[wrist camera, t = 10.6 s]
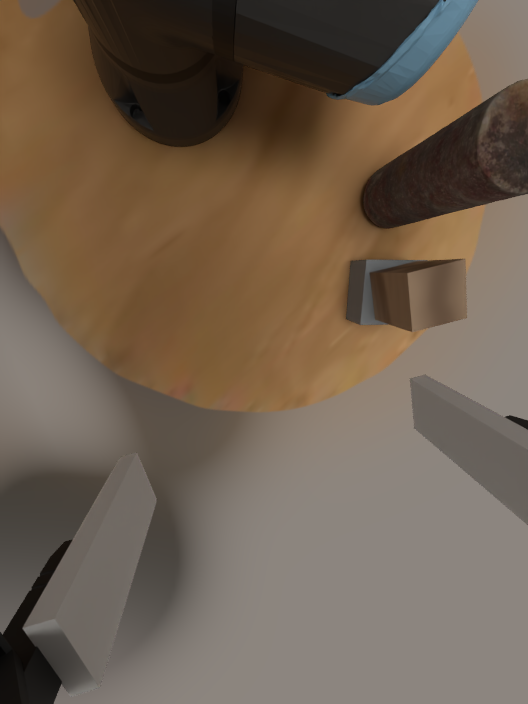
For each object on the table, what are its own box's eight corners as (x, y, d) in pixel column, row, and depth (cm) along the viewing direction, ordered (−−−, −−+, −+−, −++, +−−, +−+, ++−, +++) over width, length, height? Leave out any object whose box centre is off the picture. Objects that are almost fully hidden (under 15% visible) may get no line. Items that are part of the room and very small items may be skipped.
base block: (350, 260, 40) (366, 259, 36) (404, 261, 41) (427, 260, 37) (345, 318, 43) (360, 324, 38) (397, 317, 44) (418, 323, 39)
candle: (359, 234, 39) (484, 200, 20) (355, 173, 37) (489, 71, 18) (413, 224, 40) (584, 183, 21) (412, 163, 38) (600, 56, 19)
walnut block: (375, 319, 38) (412, 332, 30) (369, 272, 36) (407, 273, 28) (419, 308, 38) (466, 318, 31) (415, 261, 36) (465, 258, 29)
